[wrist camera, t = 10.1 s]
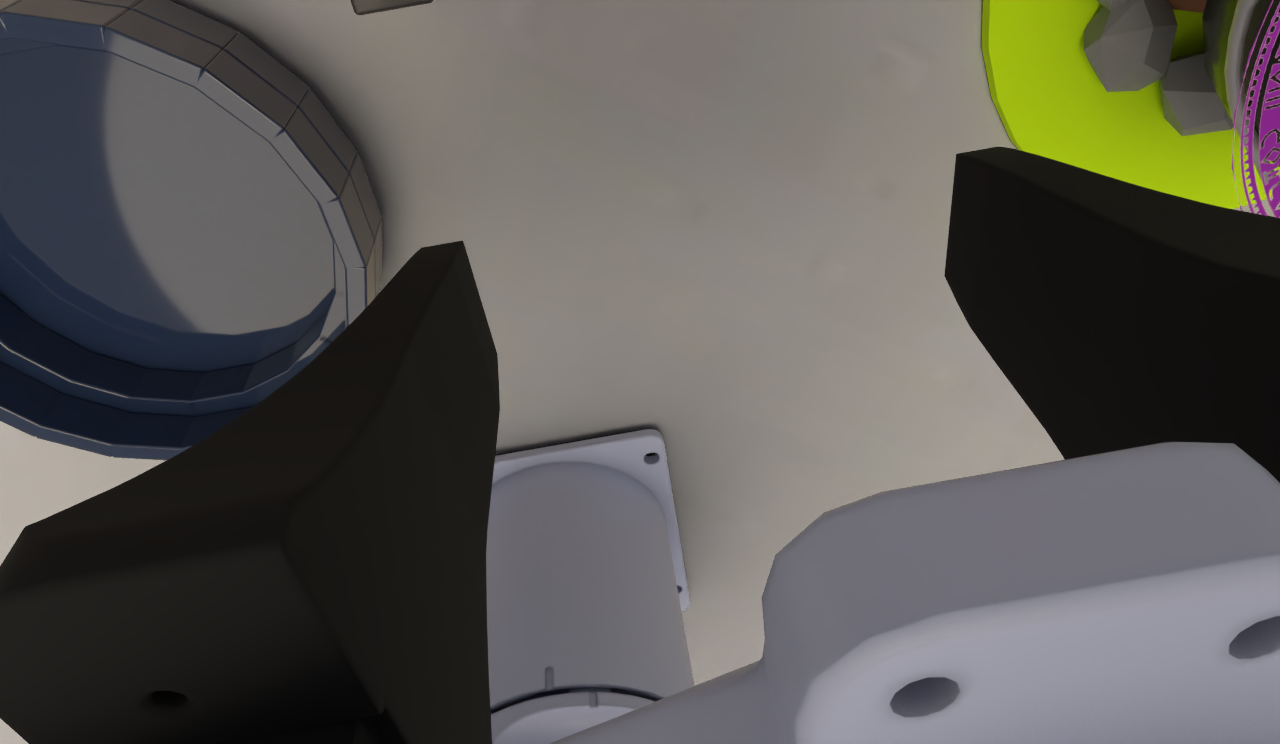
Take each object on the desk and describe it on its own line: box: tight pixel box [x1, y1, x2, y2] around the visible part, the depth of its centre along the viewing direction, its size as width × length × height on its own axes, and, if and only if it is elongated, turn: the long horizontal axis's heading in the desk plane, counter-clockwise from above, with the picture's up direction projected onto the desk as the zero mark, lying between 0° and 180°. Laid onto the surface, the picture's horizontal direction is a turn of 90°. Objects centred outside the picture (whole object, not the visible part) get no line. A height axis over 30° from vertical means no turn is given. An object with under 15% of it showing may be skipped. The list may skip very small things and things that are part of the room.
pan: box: [0, 0, 382, 460], centre depth 21 cm, size 11×11×3 cm
